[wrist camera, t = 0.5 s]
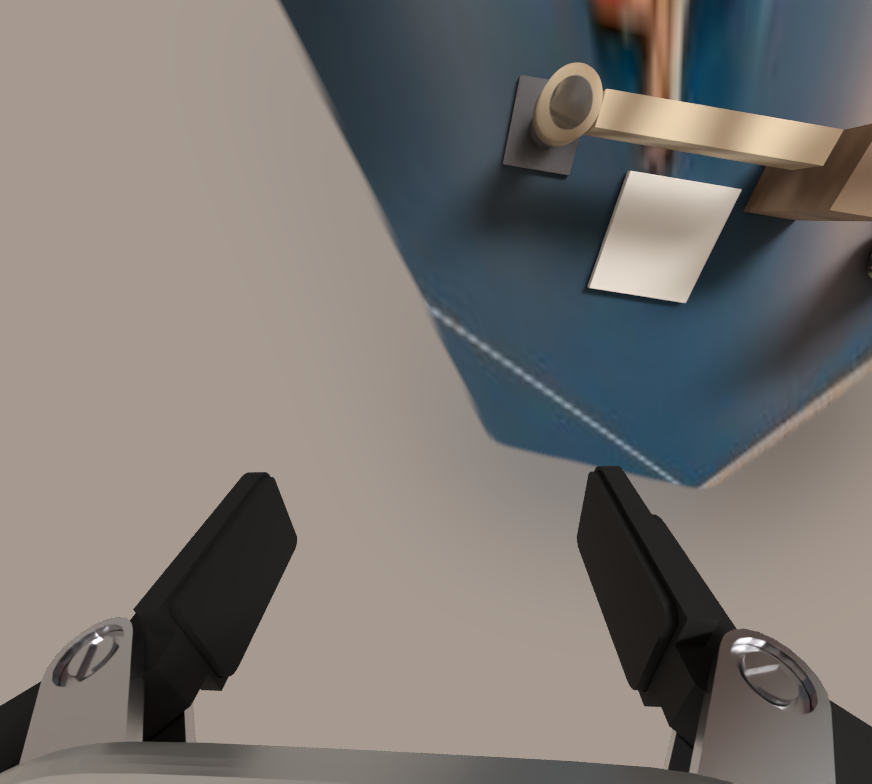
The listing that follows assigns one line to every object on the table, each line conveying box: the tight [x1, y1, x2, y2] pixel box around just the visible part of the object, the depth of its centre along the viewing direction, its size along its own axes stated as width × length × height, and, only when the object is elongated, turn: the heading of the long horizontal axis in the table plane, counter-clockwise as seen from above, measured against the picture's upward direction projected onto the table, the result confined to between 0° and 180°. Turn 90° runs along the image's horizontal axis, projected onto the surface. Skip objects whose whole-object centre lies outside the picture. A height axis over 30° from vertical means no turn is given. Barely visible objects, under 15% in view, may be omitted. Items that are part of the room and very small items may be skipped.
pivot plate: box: [502, 75, 580, 176], centre depth 28 cm, size 6×6×1 cm
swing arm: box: [530, 63, 843, 170], centre depth 25 cm, size 20×4×6 cm, turn 81°
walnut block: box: [743, 124, 872, 221], centre depth 26 cm, size 5×5×8 cm
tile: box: [587, 171, 742, 303], centre depth 32 cm, size 10×10×1 cm
